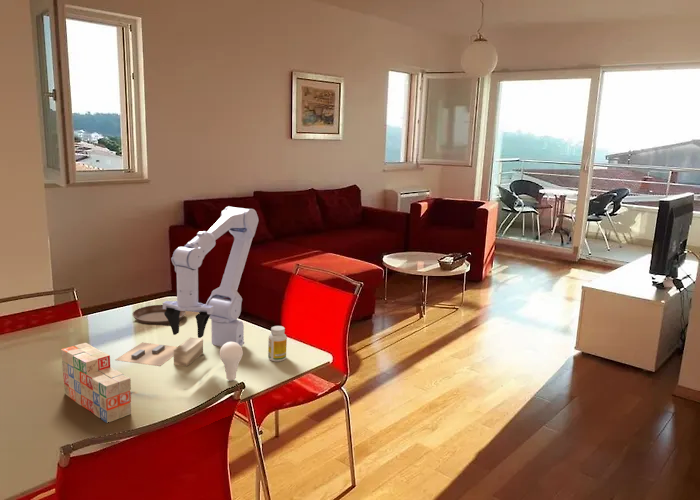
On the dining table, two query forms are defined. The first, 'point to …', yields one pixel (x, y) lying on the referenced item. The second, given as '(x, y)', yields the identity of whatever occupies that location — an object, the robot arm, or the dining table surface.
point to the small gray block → (158, 349)
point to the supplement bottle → (277, 344)
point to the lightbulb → (231, 358)
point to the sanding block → (188, 351)
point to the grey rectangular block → (138, 354)
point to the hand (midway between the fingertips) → (188, 335)
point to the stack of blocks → (95, 382)
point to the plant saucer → (153, 315)
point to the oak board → (149, 354)
